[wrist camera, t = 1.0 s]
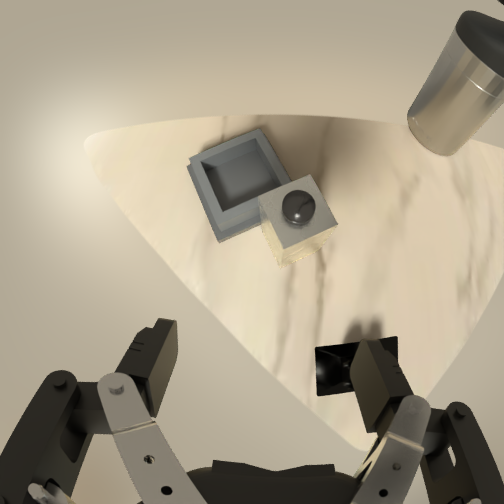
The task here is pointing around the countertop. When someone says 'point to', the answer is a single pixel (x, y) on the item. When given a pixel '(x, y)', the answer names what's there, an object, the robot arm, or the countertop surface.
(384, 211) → the countertop surface
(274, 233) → the knobbed grey block
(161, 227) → the countertop surface
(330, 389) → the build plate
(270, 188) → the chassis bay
